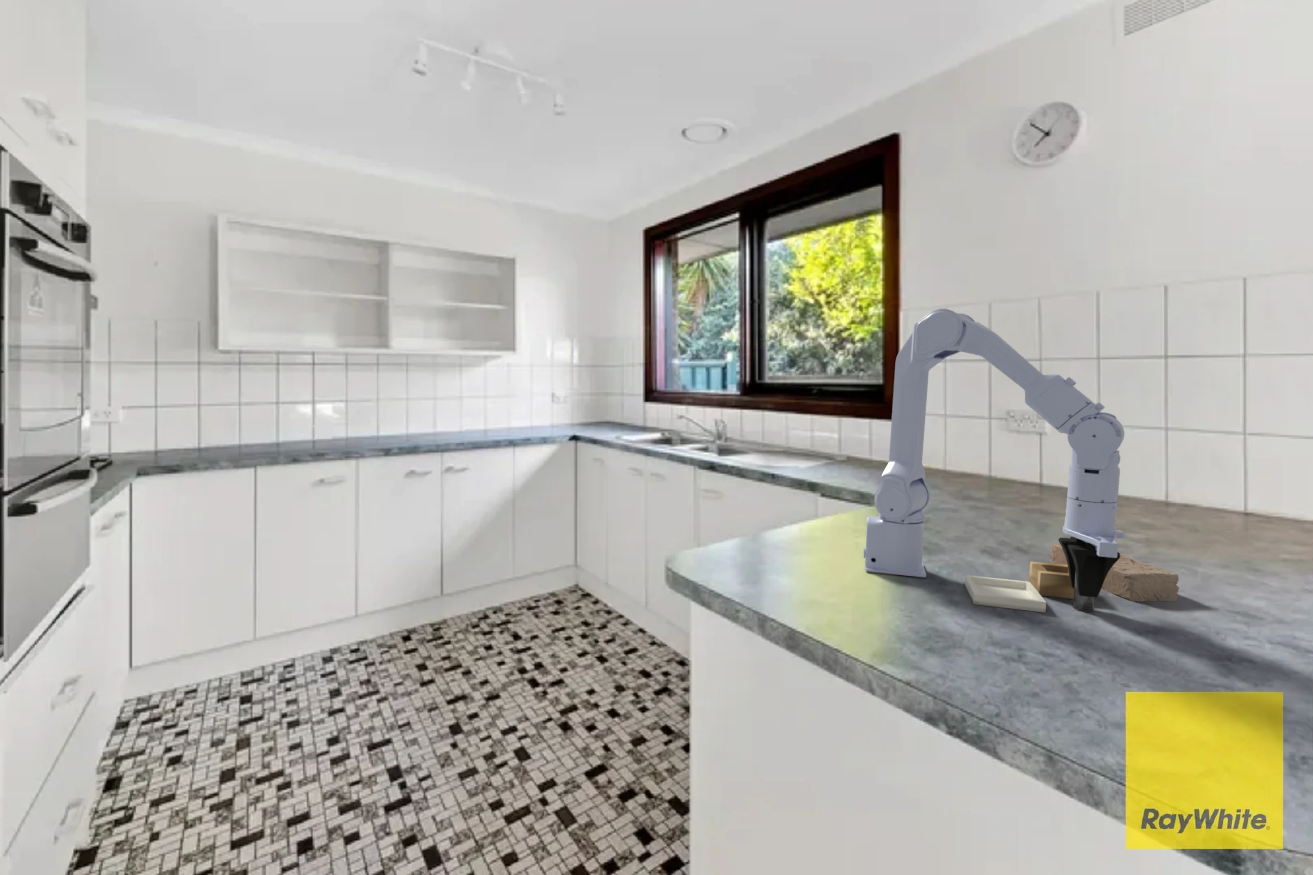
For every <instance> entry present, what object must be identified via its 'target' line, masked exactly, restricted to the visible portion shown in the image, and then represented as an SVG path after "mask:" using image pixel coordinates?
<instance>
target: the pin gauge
mask: <svg viewBox="0 0 1313 875" xmlns="http://www.w3.org/2000/svg"><path fill="white" fill-rule="evenodd" d="M1072 600H1073V602H1072V608H1073V610H1076V611H1080V612H1083V613H1084V612H1085V613H1093V612H1094V609H1095V608H1094V607H1095V597H1085V596H1080V595H1079V593H1078V589H1077V580H1076V572H1075V585H1074V598H1073V599H1072Z"/></svg>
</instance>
